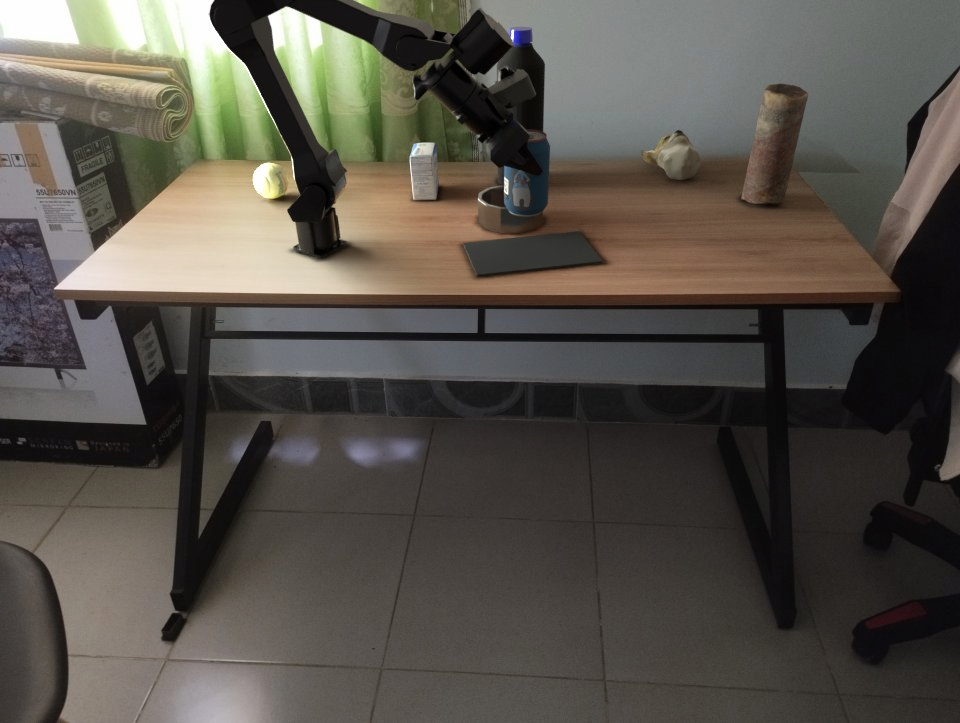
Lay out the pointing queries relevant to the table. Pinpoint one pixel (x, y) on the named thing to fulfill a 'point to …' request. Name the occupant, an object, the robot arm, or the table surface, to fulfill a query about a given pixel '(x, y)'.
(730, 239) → the table surface
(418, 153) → the medicine box
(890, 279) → the table surface
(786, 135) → the brown tall cylinder
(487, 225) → the steel holder
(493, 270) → the rubber mat
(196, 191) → the table surface
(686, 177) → the ceramic sculpture
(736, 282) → the table surface
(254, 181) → the tennis ball
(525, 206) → the soda can
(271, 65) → the robot arm
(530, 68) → the bottle
